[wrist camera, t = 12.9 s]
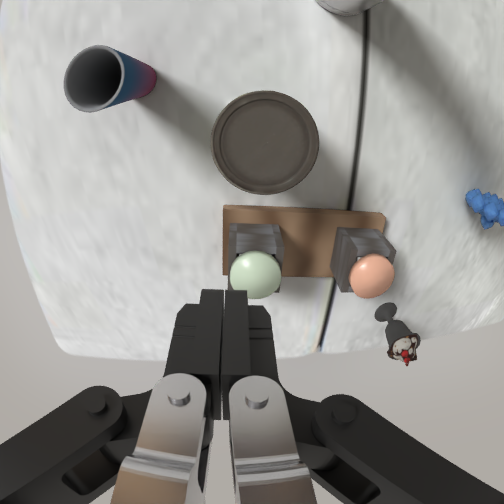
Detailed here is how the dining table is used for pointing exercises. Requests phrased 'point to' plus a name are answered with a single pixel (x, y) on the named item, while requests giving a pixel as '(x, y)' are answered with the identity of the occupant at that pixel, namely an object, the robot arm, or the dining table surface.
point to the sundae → (398, 335)
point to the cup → (106, 79)
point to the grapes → (486, 207)
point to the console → (304, 239)
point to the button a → (255, 274)
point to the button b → (371, 275)
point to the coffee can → (264, 142)
